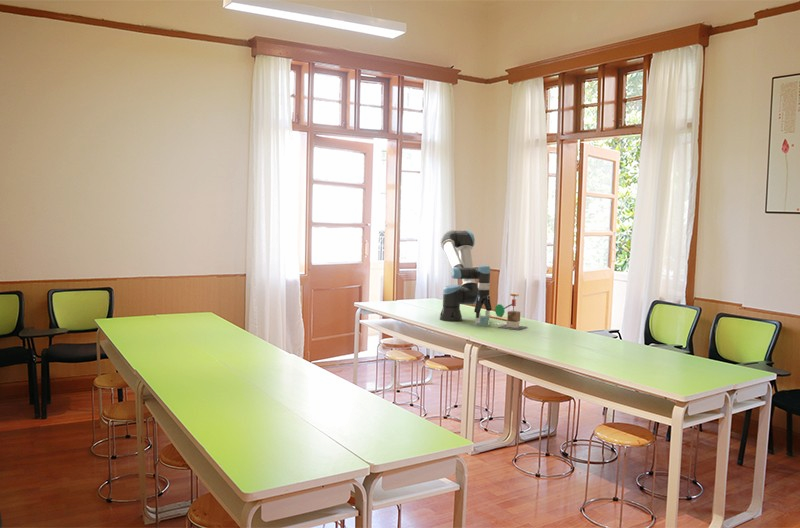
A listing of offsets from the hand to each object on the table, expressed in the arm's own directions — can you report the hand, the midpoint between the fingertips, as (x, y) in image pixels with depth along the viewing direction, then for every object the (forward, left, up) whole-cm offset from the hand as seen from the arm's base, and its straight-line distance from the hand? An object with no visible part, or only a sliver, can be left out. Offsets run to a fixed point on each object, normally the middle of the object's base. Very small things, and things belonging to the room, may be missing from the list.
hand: (482, 321), depth 432 cm
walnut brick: (+19, +6, +2) cm, 20 cm away
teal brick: (0, 0, -3) cm, 3 cm away
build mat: (+19, +6, -3) cm, 20 cm away
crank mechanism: (+1, +32, -3) cm, 32 cm away
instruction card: (+9, +12, -3) cm, 15 cm away
